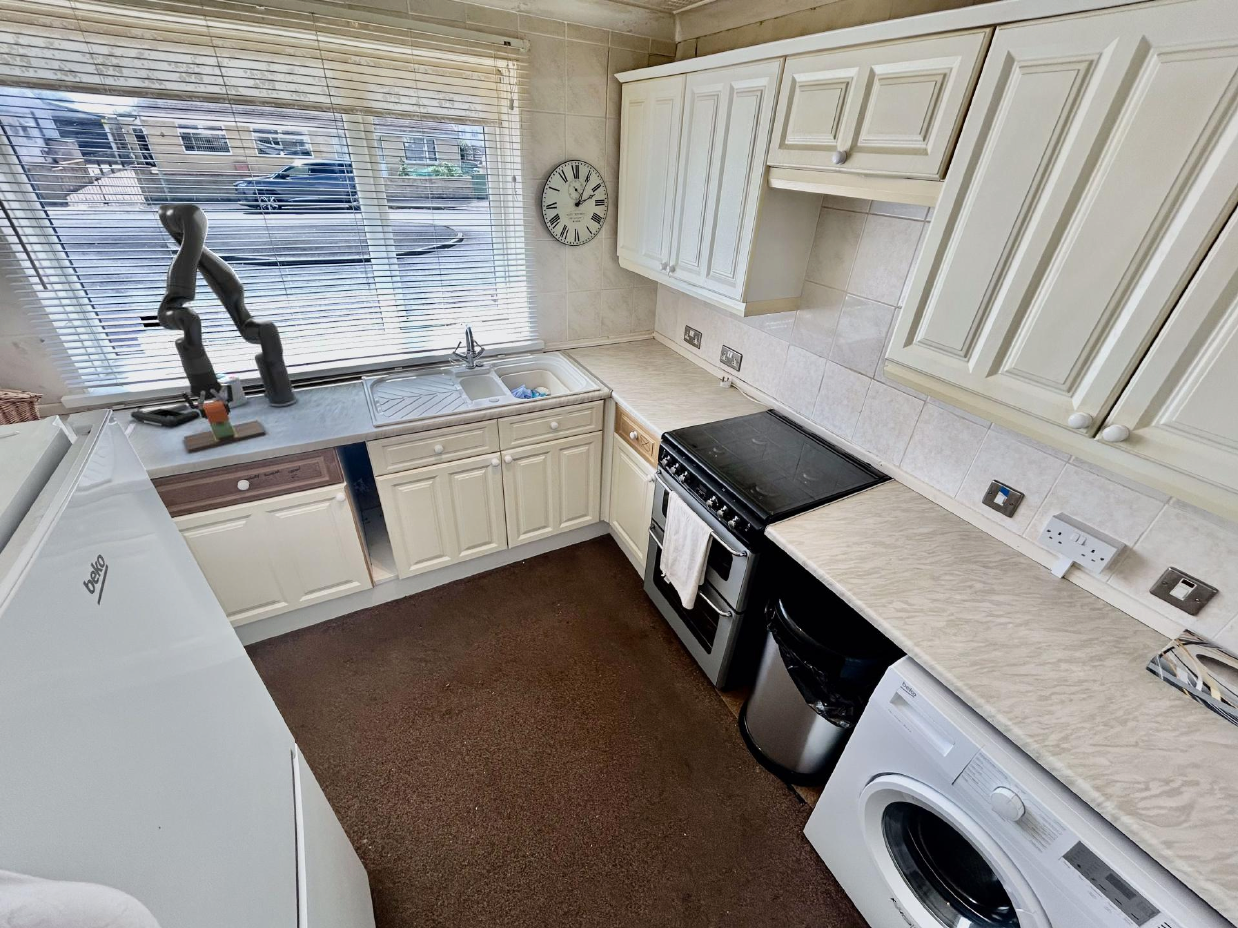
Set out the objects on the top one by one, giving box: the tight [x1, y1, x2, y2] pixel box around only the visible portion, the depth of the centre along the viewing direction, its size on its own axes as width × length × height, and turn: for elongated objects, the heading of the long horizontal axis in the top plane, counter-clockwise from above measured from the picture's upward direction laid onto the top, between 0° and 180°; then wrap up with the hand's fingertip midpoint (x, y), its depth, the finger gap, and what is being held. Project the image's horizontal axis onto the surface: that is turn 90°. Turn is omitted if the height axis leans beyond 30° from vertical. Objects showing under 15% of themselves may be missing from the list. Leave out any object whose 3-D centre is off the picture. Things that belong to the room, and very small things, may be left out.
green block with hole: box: [209, 419, 235, 440], centre depth 181 cm, size 9×6×5 cm, turn 41°
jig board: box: [183, 419, 266, 453], centre depth 182 cm, size 12×22×2 cm, turn 131°
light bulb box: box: [211, 373, 248, 409], centre depth 205 cm, size 11×7×11 cm, turn 68°
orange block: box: [203, 401, 230, 425], centre depth 178 cm, size 9×6×4 cm, turn 41°
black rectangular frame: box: [130, 403, 201, 427], centre depth 195 cm, size 3×20×16 cm
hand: (217, 416), depth 179 cm, fingers closed on orange block, 5 cm apart
